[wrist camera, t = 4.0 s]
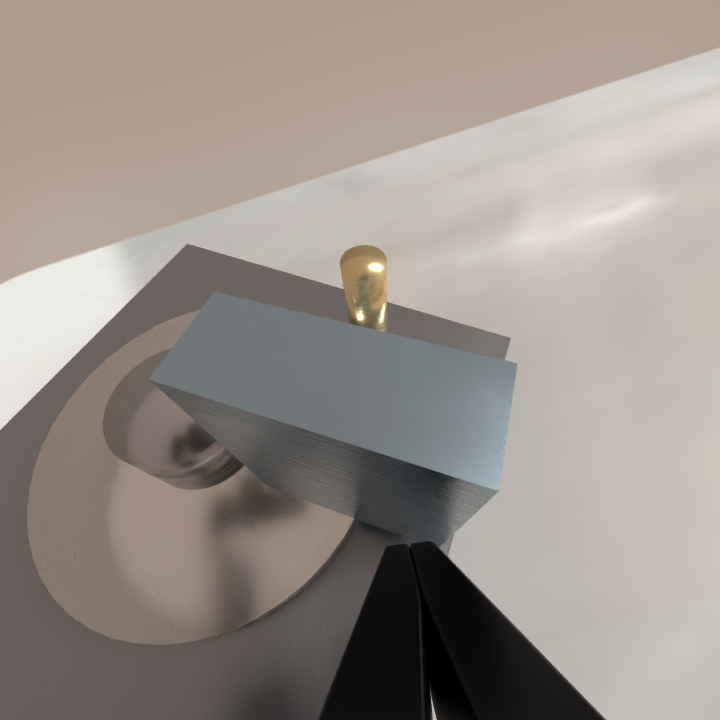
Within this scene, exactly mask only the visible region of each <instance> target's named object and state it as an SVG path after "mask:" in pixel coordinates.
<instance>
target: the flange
mask: <svg viewBox="0 0 720 720" xmlns="http://www.w3.org/2000/svg"><path fill="white" fill-rule="evenodd" d="M516 369H517V363H513V362H509V361H505V360H501V359H496V358H492V357H488V356H484V355H479V354H475V353H471V352H467V351H463V350H458V349H454V348H450V347H446V346H442V345H437V344H433V343H429V342H425V341H420V340H416V339H412V338H408V337H404V336H399V335H395V334H391V333H387V332H383V331H378V330H374V329H370V328H366V327H362V326H357V325H353V324H349V323H345V322H340V321H336V320H332V319H328V318H324V317H319V316H315V315H311V314H307V313H303V312H298V311H294V310H290V309H286V308H281V307H277V306H273V305H269V304H265V303H260V302H256V301H252V300H248V299H244V298H239V297H235V296H231V295H227V294H223V293H218V292H213V294H212V295H211V296H210V298H209V299H208V300H207V302H206V303H205V304H204V306H203V307H202V308H201V310H197V311H193V312H190V313H187V314H184V315H181V316H178V317H175V318H173V319H171V320H168V321H166V322H164V323H161V324H159V325H157V326H156V327H154V328H152V329H150V330H148V331H146V332H144V333H142V334H141V335H139V336H138V337H136V338H135V339H133V340H131V341H130V342H128V343H127V344H125V345H124V346H123V347H121V348H120V349H119V350H117V351H116V352H115V353H114V354H112V355H111V356H110V357H108V358H107V359H106V360H105V361H104V362H103V363H102V364H101V365H100V366H99V367H98V368H96V369H95V370H94V371H93V372H92V373H91V374H90V375H89V377H88V378H87V379H86V380H85V381H84V382H83V383H82V384H81V385H80V386H79V387H78V389H77V390H76V391H75V393H74V394H73V395H72V396H71V398H70V399H69V400H68V402H67V403H66V404H65V406H64V407H63V409H62V410H61V412H60V414H59V415H58V417H57V418H56V420H55V422H54V423H53V425H52V427H51V429H50V431H49V433H48V435H47V437H46V439H45V441H44V443H43V445H42V448H41V451H40V453H39V456H38V459H37V462H36V464H35V467H34V472H33V476H32V480H31V484H30V488H29V497H28V506H27V527H28V538H29V543H30V548H31V553H32V558H33V560H34V563H35V565H36V568H37V570H38V573H39V576H40V578H41V580H42V581H43V583H44V585H45V586H46V588H47V589H48V591H49V592H50V594H51V596H52V597H53V599H54V600H55V601H56V602H57V603H58V604H59V605H60V606H61V607H62V608H63V609H64V610H65V611H66V612H67V613H68V614H69V615H70V616H71V617H73V618H74V619H76V620H77V621H79V622H80V623H82V624H83V625H85V626H86V627H88V628H89V629H91V630H94V631H96V632H98V633H101V634H103V635H106V636H108V637H110V638H113V639H117V640H122V641H127V642H132V643H137V644H157V645H170V644H176V643H183V642H190V641H197V640H201V639H206V638H210V637H214V636H217V635H220V634H224V633H227V632H230V631H233V630H237V629H240V628H242V627H244V626H246V625H248V624H250V623H253V622H255V621H257V620H259V619H261V618H263V617H265V616H267V615H268V614H270V613H272V612H273V611H275V610H276V609H278V608H279V607H281V606H282V605H284V604H286V603H287V602H289V601H290V600H291V599H292V598H294V597H295V596H296V595H297V594H298V593H300V592H301V591H302V590H303V589H304V588H306V587H307V586H308V585H309V584H310V583H311V582H312V581H313V580H314V579H315V578H316V577H317V576H318V575H319V574H320V573H321V572H322V571H323V569H324V568H325V567H326V566H327V565H328V564H329V563H330V562H331V561H332V559H333V558H334V556H335V555H336V554H337V552H338V551H339V549H340V548H341V547H342V545H343V544H344V543H345V541H346V540H347V538H348V536H349V534H350V532H351V531H352V529H353V527H354V525H355V523H356V521H357V520H360V521H363V522H365V523H368V524H371V525H374V526H376V527H379V528H382V529H384V530H387V531H390V532H393V533H395V534H398V535H401V536H403V537H406V538H409V539H411V540H414V541H417V542H424V541H432V542H434V543H435V544H436V545H437V546H438V547H440V546H441V545H442V544H443V543H444V542H445V541H446V540H448V539H449V538H450V537H451V536H452V535H453V534H454V533H455V532H456V531H457V530H458V529H459V528H460V527H461V526H462V525H463V524H464V523H465V522H467V521H468V520H469V519H470V518H471V517H472V516H473V515H474V514H475V513H476V512H477V511H478V510H479V509H480V508H481V507H482V506H483V505H484V504H486V503H487V502H488V501H489V500H490V499H491V498H492V497H493V496H494V495H495V494H496V493H497V492H498V491H499V484H500V478H501V471H502V464H503V457H504V451H505V444H506V437H507V430H508V423H509V417H510V410H511V403H512V396H513V390H514V383H515V376H516Z"/></svg>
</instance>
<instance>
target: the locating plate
mask: <svg viewBox="0 0 720 720" xmlns="http://www.w3.org/2000/svg"><path fill="white" fill-rule="evenodd" d="M340 266H341V273H342V280H343V287H344V289H340V288H337V287H334V286H330V285H327V284H323V283H320V282H316V281H313V280H310V279H306V278H303V277H299V276H296V275H292V274H289V273H285V272H282V271H279V270H275V269H272V268H268V267H265V266H261V265H258V264H255V263H251V262H248V261H244V260H241V259H237V258H234V257H231V256H227V255H224V254H220V253H217V252H213V251H210V250H207V249H203V248H200V247H196V246H193V245H189V244H187V245H186V246H185V247H184V248H183V249H182V250H181V251H180V252H179V253H178V254H177V255H176V256H175V257H174V258H173V259H172V260H171V261H170V262H169V263H168V264H167V265H166V266H165V267H164V268H163V269H162V270H161V271H160V272H159V273H158V274H157V275H156V276H155V277H154V278H153V279H152V280H151V281H150V282H149V283H148V284H147V285H146V286H145V287H144V288H143V289H142V290H141V291H140V292H139V293H138V294H137V295H136V296H134V297H133V298H132V299H131V300H130V301H129V302H128V303H127V304H126V305H125V306H124V307H123V308H122V309H121V310H120V311H119V312H118V313H117V314H116V315H115V316H114V317H113V318H112V319H111V320H110V321H109V322H108V323H107V324H106V325H105V326H104V327H103V328H102V329H101V330H100V331H99V332H98V333H97V334H96V335H95V336H94V337H93V338H92V339H91V340H90V341H89V342H88V343H87V344H86V345H85V346H84V347H83V348H82V349H81V350H80V351H79V352H78V353H77V354H76V355H75V356H74V357H73V358H72V359H71V360H70V361H69V362H68V363H67V364H66V365H65V366H64V367H63V368H62V369H61V370H60V371H59V372H58V373H57V374H56V375H55V376H54V377H53V378H52V379H51V380H50V381H49V382H48V383H47V384H46V385H45V386H44V387H43V388H42V389H41V390H40V391H39V392H38V393H37V394H36V395H35V396H34V397H33V398H32V399H31V400H30V401H29V402H28V403H27V404H26V405H25V406H24V407H23V408H22V409H21V410H20V411H19V412H18V413H17V414H16V415H15V416H14V417H13V418H12V419H11V420H10V421H9V422H8V423H7V424H6V425H5V426H4V427H3V428H2V429H1V430H0V720H318V717H319V714H320V712H321V709H322V707H323V704H324V702H325V699H326V697H327V694H328V692H329V689H330V686H331V684H332V681H333V679H334V676H335V674H336V671H337V669H338V666H339V664H340V661H341V658H342V656H343V653H344V651H345V648H346V646H347V643H348V641H349V638H350V636H351V633H352V630H353V628H354V625H355V623H356V620H357V618H358V615H359V613H360V610H361V608H362V605H363V602H364V600H365V597H366V595H367V592H368V590H369V587H370V585H371V582H372V580H373V577H374V574H375V572H376V569H377V567H378V564H379V562H380V559H381V557H382V554H383V552H384V549H385V547H386V546H388V545H396V544H407V545H408V546H409V548H410V544H411V543H415V542H417V541H414V540H411V539H409V538H406V537H403V536H401V535H398V534H395V533H393V532H390V531H387V530H384V529H382V528H379V527H376V526H374V525H371V524H368V523H365V522H363V521H360V520H357V521H356V523H355V525H354V527H353V529H352V531H351V532H350V534H349V536H348V538H347V540H346V541H345V543H344V544H343V545H342V547H341V548H340V549H339V551H338V552H337V554H336V555H335V556H334V558H333V559H332V561H331V562H330V563H329V564H328V565H327V566H326V567H325V568H324V569H323V571H322V572H321V573H320V574H319V575H318V576H317V577H316V578H315V579H314V580H313V581H312V582H311V583H310V584H309V585H308V586H307V587H306V588H304V589H303V590H302V591H301V592H300V593H298V594H297V595H296V596H295V597H294V598H292V599H291V600H290V601H289V602H287V603H286V604H284V605H282V606H281V607H279V608H278V609H276V610H275V611H273V612H272V613H270V614H268V615H267V616H265V617H263V618H261V619H259V620H257V621H255V622H253V623H250V624H248V625H246V626H244V627H242V628H240V629H237V630H233V631H230V632H227V633H224V634H220V635H217V636H214V637H210V638H206V639H201V640H197V641H190V642H183V643H176V644H170V645H157V644H137V643H132V642H127V641H122V640H117V639H113V638H110V637H108V636H106V635H103V634H101V633H98V632H96V631H94V630H91V629H89V628H88V627H86V626H85V625H83V624H82V623H80V622H79V621H77V620H76V619H74V618H73V617H71V616H70V615H69V614H68V613H67V612H66V611H65V610H64V609H63V608H62V607H61V606H60V605H59V604H58V603H57V602H56V601H55V600H54V599H53V597H52V596H51V594H50V592H49V591H48V589H47V588H46V586H45V585H44V583H43V581H42V580H41V578H40V576H39V573H38V570H37V568H36V565H35V563H34V560H33V558H32V553H31V548H30V543H29V538H28V527H27V506H28V497H29V488H30V484H31V480H32V476H33V472H34V467H35V464H36V462H37V459H38V456H39V453H40V451H41V448H42V445H43V443H44V441H45V439H46V437H47V435H48V433H49V431H50V429H51V427H52V425H53V423H54V422H55V420H56V418H57V417H58V415H59V414H60V412H61V410H62V409H63V407H64V406H65V404H66V403H67V402H68V400H69V399H70V398H71V396H72V395H73V394H74V393H75V391H76V390H77V389H78V387H79V386H80V385H81V384H82V383H83V382H84V381H85V380H86V379H87V378H88V377H89V375H90V374H91V373H92V372H93V371H94V370H95V369H96V368H98V367H99V366H100V365H101V364H102V363H103V362H104V361H105V360H106V359H107V358H108V357H110V356H111V355H112V354H114V353H115V352H116V351H117V350H119V349H120V348H121V347H123V346H124V345H125V344H127V343H128V342H130V341H131V340H133V339H135V338H136V337H138V336H139V335H141V334H142V333H144V332H146V331H148V330H150V329H152V328H154V327H156V326H157V325H159V324H161V323H164V322H166V321H168V320H171V319H173V318H175V317H178V316H181V315H184V314H187V313H190V312H193V311H197V310H201V308H202V307H203V306H204V304H205V303H206V302H207V300H208V299H209V298H210V296H211V295H212V294H213V292H218V293H223V294H227V295H231V296H235V297H239V298H244V299H248V300H252V301H256V302H260V303H265V304H269V305H273V306H277V307H281V308H286V309H290V310H294V311H298V312H303V313H307V314H311V315H315V316H319V317H324V318H328V319H332V320H336V321H340V322H345V323H349V324H353V325H357V326H362V327H366V328H370V329H374V330H378V331H383V332H387V333H391V334H395V335H399V336H404V337H408V338H412V339H416V340H420V341H425V342H429V343H433V344H437V345H442V346H446V347H450V348H454V349H458V350H463V351H467V352H471V353H475V354H479V355H484V356H488V357H492V358H496V359H501V360H505V356H506V353H507V349H508V346H509V343H510V339H511V338H509V337H505V336H502V335H498V334H495V333H491V332H488V331H485V330H481V329H478V328H474V327H471V326H467V325H464V324H460V323H457V322H454V321H450V320H447V319H443V318H440V317H436V316H433V315H430V314H426V313H423V312H419V311H416V310H412V309H409V308H406V307H402V306H399V305H395V304H392V303H388V302H387V260H386V256H385V254H384V253H383V252H382V251H381V250H380V249H378V248H376V247H373V246H368V245H362V246H356V247H353V248H351V249H349V250H347V251H346V252H345V253H344V254H343V255H342V257H341V260H340ZM453 536H454V534H453V535H452V536H451V537H450V538H449V539H448V540H446V541H445V542H444V543H443V544H442V545H441V546H440V547H439V548H440V549H441V550H442V551H443V552H444V553H445V554H446V555H447V556H448V553H449V550H450V546H451V543H452V539H453Z"/></svg>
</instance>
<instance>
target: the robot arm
mask: <svg viewBox="0 0 720 720" xmlns="http://www.w3.org/2000/svg"><path fill="white" fill-rule="evenodd" d="M430 691H431V695H430ZM431 696H432V701H433V705H434V709H435V713H436V718H437V720H606V719H605V718H604V717H603V716H602V715H601V714H600V713H599V712H598V711H597V710H596V709H595V708H594V707H593V706H592V705H591V704H590V703H589V702H588V701H587V700H586V699H585V698H584V697H583V696H582V695H581V694H580V692H579V691H578V690H577V689H576V688H575V687H574V686H573V685H572V684H571V683H570V682H569V681H568V680H567V679H566V678H565V677H564V676H563V675H562V674H561V673H560V672H559V671H558V670H557V669H556V668H555V667H554V666H553V665H552V664H551V663H550V662H549V661H548V660H547V658H546V657H545V656H544V655H543V654H542V653H541V652H540V651H539V650H538V649H537V648H536V647H535V646H534V645H533V644H532V643H531V642H530V641H529V640H528V639H527V638H526V637H525V636H524V635H523V634H522V633H521V632H520V631H519V630H518V629H517V628H516V627H515V626H514V624H513V623H512V622H511V621H510V620H509V619H508V618H507V617H506V616H505V615H504V614H503V613H502V612H501V611H500V610H499V609H498V608H497V607H496V606H495V605H494V604H493V603H492V602H491V601H490V600H489V599H488V598H487V597H486V596H485V595H484V594H483V593H482V592H481V591H480V589H479V588H478V587H477V586H476V585H475V584H474V583H473V582H472V581H471V580H470V579H469V578H468V577H467V576H466V575H465V574H464V573H463V572H462V571H461V570H460V569H459V568H458V567H457V566H456V565H455V564H454V563H453V562H452V561H451V560H450V559H449V558H448V557H447V555H446V554H445V553H444V552H443V551H442V550H441V549H440V548H439V547H438V546H437V545H436V544H435V543H434V542H432V541H424V542H415V543H411V544H410V548H409V546H408V545H407V544H396V545H388V546H386V547H385V549H384V552H383V554H382V557H381V559H380V562H379V564H378V567H377V569H376V572H375V574H374V577H373V580H372V582H371V585H370V587H369V590H368V592H367V595H366V597H365V600H364V602H363V605H362V608H361V610H360V613H359V615H358V618H357V620H356V623H355V625H354V628H353V630H352V633H351V636H350V638H349V641H348V643H347V646H346V648H345V651H344V653H343V656H342V658H341V661H340V664H339V666H338V669H337V671H336V674H335V676H334V679H333V681H332V684H331V686H330V689H329V692H328V694H327V697H326V699H325V702H324V704H323V707H322V709H321V712H320V714H319V717H318V720H433V717H432V706H431Z"/></svg>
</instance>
